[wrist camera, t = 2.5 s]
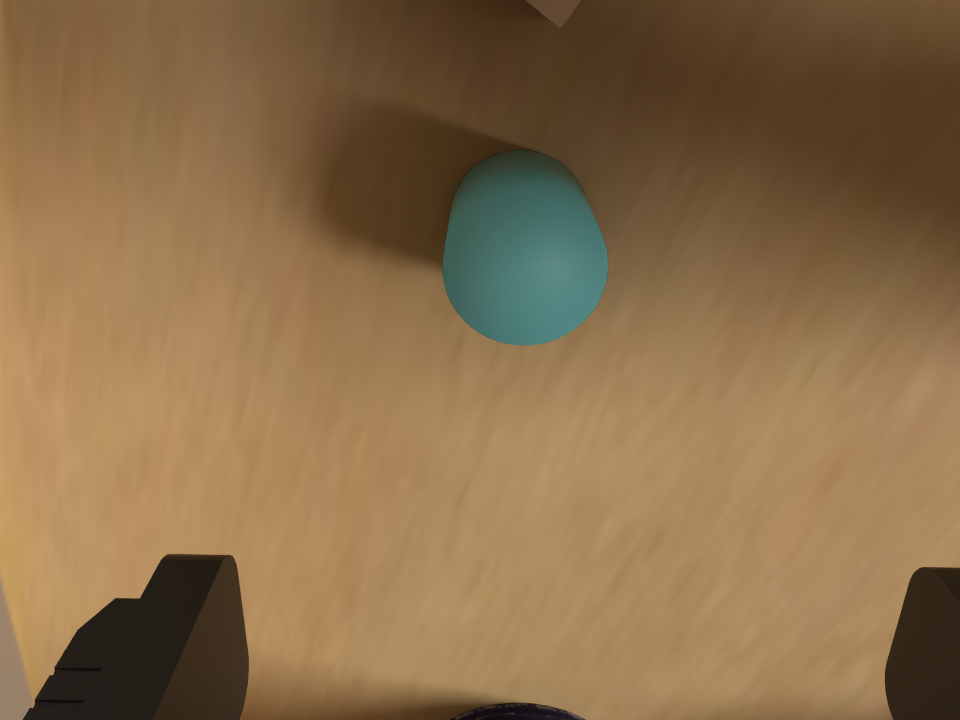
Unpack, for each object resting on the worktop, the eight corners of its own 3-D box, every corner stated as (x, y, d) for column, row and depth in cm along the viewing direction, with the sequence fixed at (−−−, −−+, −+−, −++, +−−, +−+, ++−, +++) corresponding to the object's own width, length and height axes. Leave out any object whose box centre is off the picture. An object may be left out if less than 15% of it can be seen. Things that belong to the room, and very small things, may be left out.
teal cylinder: (609, 249, 28) (633, 304, 23) (487, 306, 28) (487, 369, 24) (553, 125, 26) (567, 157, 21) (425, 188, 27) (412, 232, 22)
